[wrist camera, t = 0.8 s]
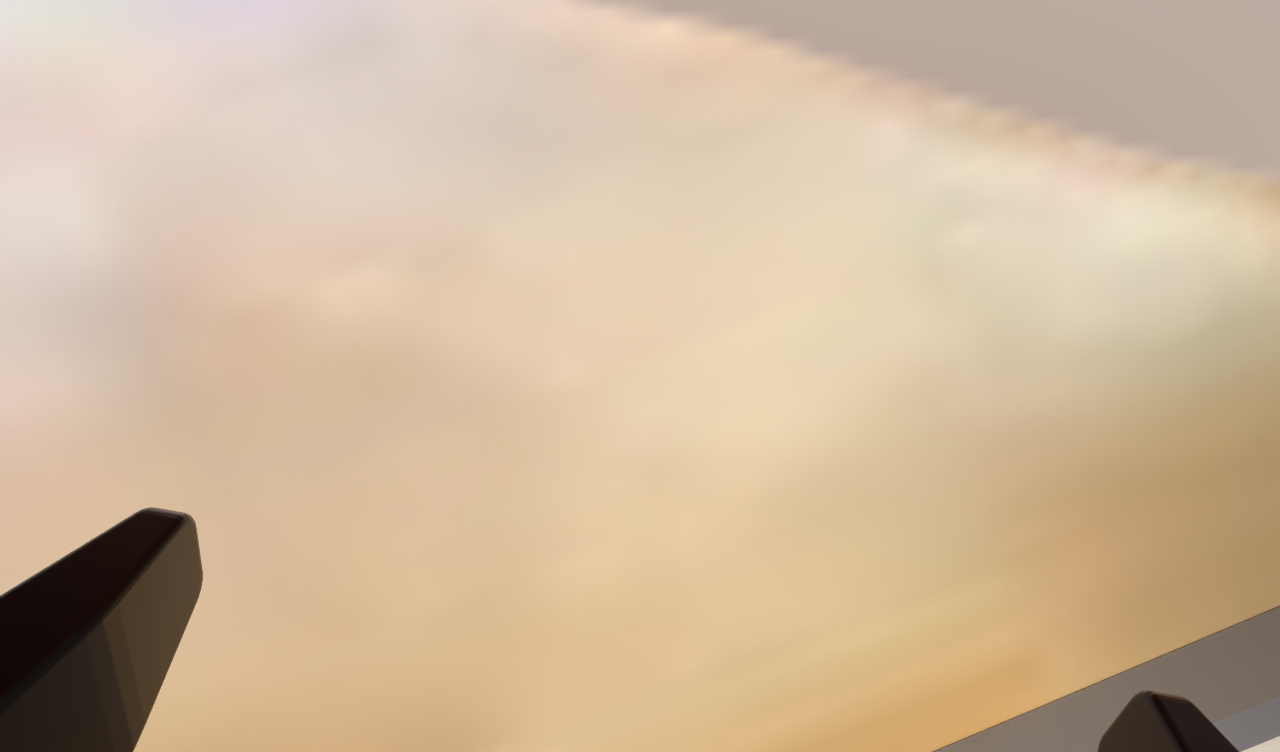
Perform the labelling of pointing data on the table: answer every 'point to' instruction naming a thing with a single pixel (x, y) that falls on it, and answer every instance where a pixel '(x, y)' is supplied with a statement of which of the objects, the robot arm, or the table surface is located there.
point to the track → (1201, 672)
